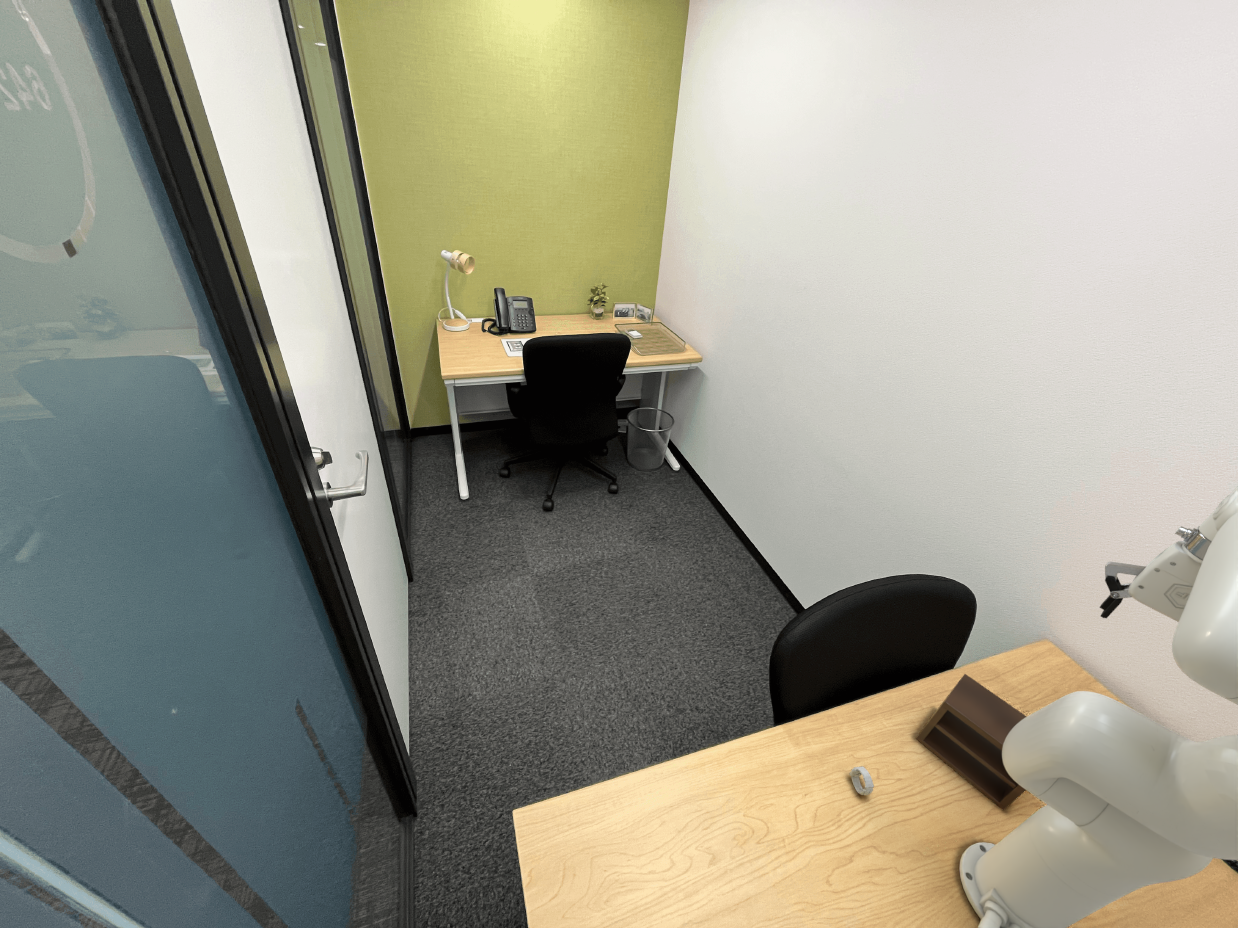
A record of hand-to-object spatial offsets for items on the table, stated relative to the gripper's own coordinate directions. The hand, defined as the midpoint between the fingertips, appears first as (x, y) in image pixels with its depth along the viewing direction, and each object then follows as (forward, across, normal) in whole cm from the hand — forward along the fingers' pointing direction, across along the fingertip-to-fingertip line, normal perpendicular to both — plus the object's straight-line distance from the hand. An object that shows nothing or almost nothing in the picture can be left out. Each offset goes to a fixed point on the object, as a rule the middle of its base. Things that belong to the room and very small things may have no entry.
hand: (1142, 634), depth 77 cm
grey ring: (+28, -16, -39) cm, 51 cm away
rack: (+28, -7, -18) cm, 34 cm away
